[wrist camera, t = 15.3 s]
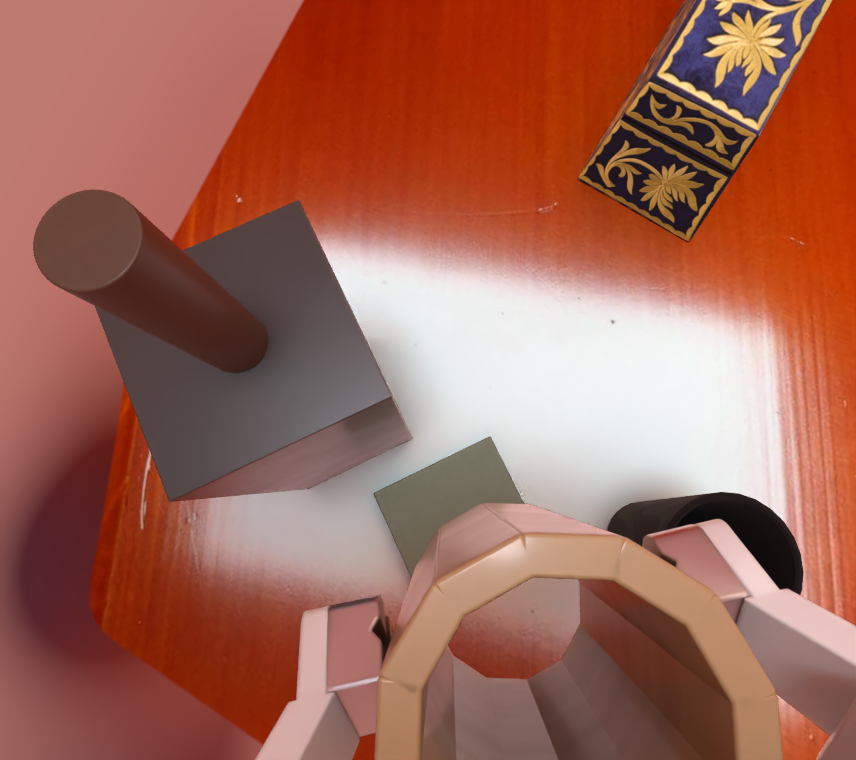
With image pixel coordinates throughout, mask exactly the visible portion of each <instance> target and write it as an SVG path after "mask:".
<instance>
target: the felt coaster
mask: <svg viewBox="0 0 856 760" xmlns="http://www.w3.org/2000/svg"><path fill="white" fill-rule="evenodd" d="M374 496H375V498H376V500H377V502H378V505H379V507H380V509H381V511H382V514H383V516H384V518H385V520H386V522H387V525H388V527H389V529H390V531H391V533H392V536H393V538H394V540H395V542H396V545H397V547H398V549H399V551H400V553H401V556H402V558H403V560H404V562H405V564H406V567H407V569H408V571H409V573H410V575H411V578H412V575H413V572H414V569H415V567H416V565H417V564H418V562H419V560H420V559H421V557H422V555H423V554H424V552H425V550H426V548H427V547H428V545H429V543H430V542H431V540H432V538H433V537H434V535H435V533H436V532H437V530H438V529H439V528H440V527H441V526H442V525H443V524H445V523H447V522H449V521H450V520H452V519H454V518H456V517H458V516H459V515H461V514H463V513H465V512H467V511H468V510H470V509H472V508H474V507H476V506H477V505H479V504H483V503H509V504H524V503H523V501H522V499H521V497H520V495H519V493H518V491H517V489H516V487H515V485H514V483H513V481H512V479H511V477H510V475H509V473H508V471H507V469H506V467H505V465H504V463H503V461H502V459H501V457H500V455H499V453H498V451H497V449H496V447H495V445H494V443H493V441H492V439H491V437H488V438H486V439H484V440H482V441H480V442H478V443H476V444H474V445H472V446H469V447H467V448H465V449H463V450H461V451H459V452H457V453H455V454H453V455H451V456H449V457H447V458H445V459H443V460H441V461H439V462H437V463H435V464H433V465H431V466H428V467H426V468H424V469H422V470H420V471H418V472H416V473H414V474H412V475H410V476H408V477H406V478H404V479H402V480H400V481H398V482H396V483H394V484H392V485H390V486H387V487H385V488H383V489H381V490H379V491H377V492H375V493H374Z"/></svg>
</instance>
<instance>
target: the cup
mask: <svg viewBox="0 0 856 760" xmlns="http://www.w3.org/2000/svg"><path fill="white" fill-rule="evenodd" d="M714 519H721V520H723V521H724V522H726V523H727V524H728V525H729V527H730V528H731V529H732V530H733V532H734V533H735V534H736V535H737V537H738V538H739V539H740V540H741V542H742V543H743V544H744V545H745V547H746V548H747V549H748V550H749V552H750V553H751V554H752V555H753V557H754V558H755V559H756V560H757V562H758V563H759V564H760V566H761V567H762V568H763V569H764V571H765V572H766V573H767V574H768V576H769V577H770V578H771V579H772V581H773V582H774V583H775V584H776V586H777V587H778V588H779V589H780V590H782V589H787V588H788V589H789V590H791V591H793V592H795V593H797V594H799V595H800V594H801V591H802V582H803V566H802V560H801V554H800V551H799V549H798V546H797V543H796V541H795V538H794V536H793V535H792V533H791V532H790V530H789V529H788V527H787V526H786V524H785V523H784V521H783V520H782V519H781V518H780V517H779V516H777V515H776V514H775V513H774V512H773V511H772V510H771V509H770V508H768V507H767V506H765V505H764V504H762V503H760V502H759V501H757V500H756V499H753V498H750V497H747V496H744V495H741V494H737V493H726V492H718V493H710V494H702V495H694V496H686V497H677V498H669V499H661V500H653V501H645V502H637V503H631V504H629V505H626V506H624V507H622V508H621V509H620V510H619V511H617V512H616V514H615V515H614V516H613V518H612V519H611V521H610V524H609V526H608V531H609V532H612V533H615V534H617V535H620V536H623V537H626V538H628V539H630V540H632V541H633V542H635V543H637V544H638V545H640V546H641V547H642V543H643V538H644V537H645V536H646V535H648V534H652V533H657V532H661V531H665V530H669V529H673V528H677V527H681V526H685V525H690V524H697V523H701V522H705V521H709V520H714Z"/></svg>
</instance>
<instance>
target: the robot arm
mask: <svg viewBox="0 0 856 760" xmlns="http://www.w3.org/2000/svg"><path fill="white" fill-rule="evenodd" d="M642 547H643V548H645V549H646V550H648V551H650V552H651V553H653V554H655V555H656V556H658V557H660V558H661V559H663V560H664V561H666V562H668V563H669V564H671V565H673V566H674V567H676V568H678V569H679V570H681V571H682V572H684V573H686V574H687V575H689V576H691V577H692V578H694V579H696V580H697V581H699V582H700V583H702V584H704V585H705V586H707V587H709V588H710V589H711V590H712V591H713V592H714V594H716V595H717V596H719V598H720V600H721V601H722V603H723V604H724V606H725V608H726V609H727V611H728V613H729V614H730V616H731V618H732V619H733V621H734V622H735V624H736V626H737V627H738V629H739V631H740V632H741V634H742V636H743V637H744V639H745V641H746V642H747V644H748V645H749V647H750V649H751V650H752V652H753V654H754V655H755V657H756V659H757V660H758V662H759V663H760V665H761V667H762V668H763V670H764V672H765V673H766V675H767V677H768V678H769V680H770V682H771V683H772V685H773V686H774V689H775V692H776V694H777V695H778V696H780V697H781V698H782V699H783V700H785V701H786V702H787V703H789V704H790V705H791V706H792V707H794V708H795V709H796V710H797V711H799V712H800V713H801V714H803V715H804V716H805V717H806V718H808V719H809V720H810V721H812V722H813V723H814V724H815V725H817V726H818V727H819V728H821V729H822V730H823V731H824V732H826V733H827V734H828V735H830V737H829V739H828V740H827V742H826V743H825V745H824V746H823V748H822V749H821V751H820V753H819V754H818V756H817V759H816V760H856V626H855V625H853V624H851V623H850V622H848V621H846V620H844V619H842V618H840V617H839V616H837V615H835V614H833V613H831V612H830V611H828V610H826V609H824V608H822V607H820V606H819V605H817V604H815V603H813V602H811V601H810V600H808V599H806V598H804V597H802V596H800V595H799V594H797V593H795V592H793V591H791V590H789V589H788V588H787V589H782V590H780V589H779V588H778V587H777V586H776V584H775V583H774V582H773V581H772V579H771V578H770V577H769V576H768V574H767V573H766V572H765V571H764V569H763V568H762V567H761V566H760V564H759V563H758V562H757V560H756V559H755V558H754V557H753V555H752V554H751V553H750V552H749V550H748V549H747V548H746V547H745V545H744V544H743V543H742V542H741V540H740V539H739V538H738V537H737V535H736V534H735V533H734V532H733V530H732V529H731V528H730V527H729V525H728V524H727V523H726V522H724V521H723V520H721V519H714V520H709V521H705V522H701V523H697V524H690V525H685V526H681V527H677V528H673V529H669V530H665V531H661V532H657V533H652V534H648V535H646V536H645V537H644V538H643V543H642ZM392 635H393V631H392V627H391V623H390V620H389V617H387V616H385V610H384V603H383V601H382V598H381V596H380V595H378V596H373V597H368V598H364V599H359V600H354V601H350V602H345V603H340V604H336V605H329V606H325V607H320V608H316V609H312V610H307V611H304V613H303V617H302V620H301V631H300V647H299V663H298V679H297V695H296V700H295V701H291V702H288V704H287V706H286V707H285V709H284V711H283V712H282V714H281V716H280V718H279V719H278V721H277V723H276V724H275V726H274V728H273V729H272V731H271V733H270V735H269V736H268V738H267V740H266V741H265V743H264V745H263V746H262V748H261V750H260V752H259V753H258V755H257V757H256V758H255V760H352V759H353V756H354V754H355V751H356V749H357V746H358V744H359V741H360V739H359V737H361V736H365V735H369V734H372V733H376V709H377V686H378V678H379V675H380V672H381V668H382V665H383V662H384V659H385V656H386V653H387V650H388V647H389V644H390V641H391V638H392Z"/></svg>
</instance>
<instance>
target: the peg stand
mask: <svg viewBox="0 0 856 760" xmlns="http://www.w3.org/2000/svg"><path fill="white" fill-rule="evenodd" d="M33 250H34V257H35V260H36V263H37V265H38V267H39V269H40V271H41V272H42V274H43V275H44V276H45V277H46V278H47V279H48V280H49V281H50V282H51V283H53V284H54V285H56V286H58V287H59V288H61V289H63V290H65V291H67V292H69V293H71V294H73V295H75V296H77V297H79V298H81V299H83V300H85V301H87V302H89V303H91V304H93V305H95V308H96V310H97V313H98V316H99V318H100V321H101V323H102V326H103V329H104V331H105V334H106V336H107V339H108V342H109V344H110V347H111V349H112V352H113V355H114V358H115V360H116V363H117V365H118V368H119V371H120V373H121V376H122V379H123V381H124V384H125V386H126V389H127V392H128V394H129V397H130V400H131V402H132V405H133V407H134V410H135V413H136V415H137V418H138V421H139V423H140V426H141V428H142V431H143V434H144V436H145V439H146V442H147V444H148V447H149V449H150V452H151V455H152V457H153V460H154V463H155V465H156V468H157V470H158V473H159V476H160V478H161V481H162V484H163V486H164V489H165V492H166V494H167V497H168V499H169V501H170V502H174V501H184V500H195V499H206V498H216V497H227V496H238V495H248V494H259V493H270V492H280V491H291V490H302V489H309V488H311V487H313V486H315V485H318V484H320V483H322V482H324V481H326V480H328V479H330V478H332V477H334V476H336V475H338V474H340V473H342V472H345V471H347V470H349V469H351V468H353V467H355V466H357V465H359V464H361V463H363V462H365V461H367V460H369V459H371V458H374V457H376V456H378V455H380V454H382V453H384V452H386V451H388V450H390V449H392V448H394V447H396V446H398V445H401V444H403V443H405V442H407V441H409V440H411V439H412V436H411V434H410V432H409V429H408V427H407V425H406V423H405V421H404V419H403V417H402V415H401V413H400V411H399V408H398V406H397V404H396V402H395V400H394V398H393V396H392V394H391V392H390V389H389V387H388V385H387V383H386V381H385V379H384V377H383V375H382V373H381V370H380V368H379V366H378V364H377V362H376V360H375V358H374V356H373V354H372V351H371V349H370V347H369V345H368V343H367V341H366V339H365V337H364V335H363V333H362V330H361V328H360V326H359V324H358V322H357V320H356V318H355V316H354V314H353V312H352V310H351V307H350V305H349V303H348V301H347V299H346V297H345V295H344V293H343V291H342V289H341V287H340V284H339V282H338V280H337V278H336V276H335V274H334V272H333V270H332V268H331V266H330V264H329V262H328V259H327V257H326V255H325V253H324V251H323V249H322V247H321V245H320V243H319V241H318V239H317V236H316V234H315V232H314V230H313V228H312V226H311V224H310V222H309V220H308V218H307V216H306V213H305V211H304V209H303V207H302V205H301V203H300V201H299V200H297V201H295V202H292V203H290V204H288V205H286V206H283V207H281V208H279V209H277V210H274V211H272V212H270V213H267V214H265V215H263V216H261V217H258V218H256V219H254V220H251V221H249V222H247V223H245V224H242V225H240V226H238V227H235V228H233V229H231V230H229V231H226V232H224V233H222V234H219V235H217V236H215V237H213V238H210V239H208V240H206V241H203V242H201V243H199V244H197V245H194V246H192V247H190V248H188V249H185V250H183V251H182V250H181V249H180V248H179V247H178V246H177V245H176V244H175V243H174V242H172V241H171V240H170V239H169V238H168V237H167V236H166V235H165V234H164V233H163V232H161V231H160V230H159V229H158V228H157V227H156V226H155V225H154V224H153V223H151V222H150V221H149V220H148V219H147V218H146V217H145V216H144V215H143V214H142V213H141V212H139V211H138V210H137V209H136V208H135V207H134V206H133V205H132V204H130V203H129V202H128V201H127V200H126V199H124V198H123V197H121V196H119V195H117V194H115V193H112V192H108V191H103V190H85V191H80V192H76V193H73V194H71V195H69V196H66V197H65V198H63V199H61V200H60V201H58V202H57V203H56V204H54V205H53V206H52V207H51V208H50V209H49V210H48V211H47V212H46V213H45V215H44V216H43V217H42V219H41V221H40V222H39V225H38V227H37V229H36V232H35V236H34V243H33Z"/></svg>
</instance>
